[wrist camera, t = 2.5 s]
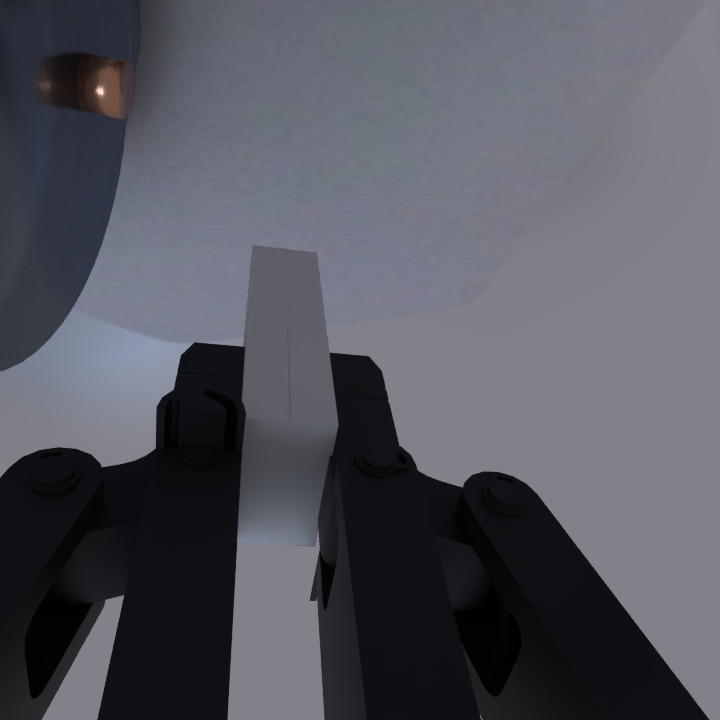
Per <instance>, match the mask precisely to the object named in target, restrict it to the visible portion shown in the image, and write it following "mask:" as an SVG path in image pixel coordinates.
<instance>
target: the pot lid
mask: <svg viewBox="0 0 720 720" xmlns="http://www.w3.org/2000/svg"><path fill="white" fill-rule="evenodd" d="M134 86H135V85H134V73H133V69H132V66H131V64H130V62H129V49H128V27H127V12H126V2H125V0H0V371H4V370H6V369H8V368H10V367H12V366H15V365H17V364H19V363H21V362H23V361H24V360H25V359H27V358H28V357H30V356H31V355H32V354H34V353H35V352H36V351H37V350H39V348H40V347H42V346H43V345H44V344H45V343H46V342H47V341H48V340H49V339H50V338H51V337H52V335H53V334H54V333H55V332H56V330H57V329H58V328H59V327H60V326H61V324H62V323H63V322H64V320H65V319H66V317H67V315H68V314H69V312H70V311H71V309H72V308H73V306H74V305H75V303H76V301H77V299H78V297H79V295H80V294H81V292H82V290H83V288H84V286H85V284H86V282H87V280H88V277H89V275H90V273H91V271H92V268H93V266H94V264H95V261H96V258H97V256H98V253H99V250H100V248H101V245H102V242H103V239H104V235H105V232H106V229H107V226H108V222H109V219H110V215H111V211H112V207H113V203H114V199H115V194H116V189H117V184H118V179H119V174H120V168H121V162H122V155H123V149H124V140H125V131H126V121H127V116H128V115H129V113H130V110H131V107H132V104H133V98H134Z"/></svg>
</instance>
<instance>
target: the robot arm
mask: <svg viewBox="0 0 720 720" xmlns="http://www.w3.org/2000/svg"><path fill="white" fill-rule="evenodd" d="M156 419H157V420H156V449H155V450H153V451H152V452H151V453H149V454H148V455H146V456H145V457H142V458H140V459H137V460H135V461H132V462H128V463H124V464H120V465H114V466H108V467H101V464H100V463H99V462H98V461H97V460H96V459H95V458H94V457H93V456H92V455H91V454H88V453H86V452H83V451H80V450H78V449H72V448H71V449H70V448H60V447H58V448H51V449H44V450H39V451H36V452H34V453H31V454H29V455H26V456H24V457H22V458H21V459H19V460H18V461H17V462H16V463H14V464H13V465H12V466H11V467H9V469H8V470H7V471H6V472H5V473H4V474H3V475H2V476H1V478H0V720H42V718H43V716H44V714H45V713H46V711H47V708H48V707H49V705H50V703H51V702H52V700H53V698H54V696H55V694H56V693H57V691H58V689H59V687H60V685H61V683H62V682H63V680H64V678H65V676H66V674H67V673H68V671H69V669H70V667H71V665H72V663H73V662H74V660H75V658H76V656H77V654H78V652H79V651H80V649H81V647H82V645H83V644H84V642H85V640H86V638H87V636H88V635H89V633H90V631H91V629H92V627H93V625H94V624H95V622H96V620H97V618H98V616H99V615H100V613H101V611H102V609H103V607H104V604H105V600H106V599H110V598H114V597H118V596H122V595H124V600H123V604H122V608H121V614H120V618H119V622H118V627H117V632H116V636H115V641H114V645H113V650H112V655H111V659H110V664H109V669H108V673H107V678H106V682H105V687H104V692H103V696H102V701H101V706H100V710H99V715H98V719H97V720H227V717H228V698H229V680H230V663H231V645H232V626H233V625H232V624H233V608H234V590H235V572H236V553H237V543H242V544H267V545H294V546H315V544H316V538H317V533H318V529H319V543H320V551H319V556H318V561H317V566H316V572H315V576H314V582H313V586H312V592H311V597H310V601H316V599H317V601H318V616H319V617H318V618H319V634H320V651H321V667H322V683H323V701H324V717H325V720H481V718H480V715H481V717H482V719H483V720H709V719H708V717H707V716H706V715H705V714H704V712H703V711H702V710H701V708H700V707H699V706H698V705H697V703H696V702H695V701H694V699H693V698H692V696H691V695H690V694H689V692H688V691H687V690H686V689H685V687H684V686H683V685H682V683H681V682H680V681H679V679H678V678H677V677H676V676H675V674H674V673H673V672H672V671H671V669H670V668H669V666H668V665H667V664H666V662H665V661H664V660H663V658H662V657H661V656H660V654H659V653H658V652H657V651H656V650H655V648H654V647H653V645H652V644H651V643H650V641H649V640H648V639H647V638H646V636H645V635H644V634H643V632H642V631H641V630H640V628H639V627H638V626H637V625H636V623H635V622H634V620H633V619H632V618H631V616H630V615H629V614H628V613H627V611H626V610H625V609H624V607H623V606H622V605H621V603H620V602H619V601H618V599H617V598H616V597H615V596H614V594H613V593H612V592H611V590H610V589H609V588H608V586H607V585H606V584H605V582H604V581H603V580H602V578H601V577H600V576H599V575H598V573H597V572H596V571H595V569H594V568H593V567H592V565H591V564H590V563H589V561H588V560H587V559H586V557H585V556H584V555H583V554H582V552H581V551H580V550H579V548H578V547H577V546H576V544H575V543H574V542H573V540H572V539H571V538H570V536H569V535H568V534H567V533H566V531H565V530H564V529H563V527H562V526H561V525H560V523H559V522H558V521H557V520H556V518H555V517H554V515H553V514H552V513H551V512H550V510H549V509H548V508H547V506H546V505H545V504H544V502H543V501H542V500H541V498H540V497H539V496H538V495H537V493H535V492H534V491H533V490H532V489H531V488H530V487H529V486H528V485H527V484H526V483H524V482H522V481H520V480H519V479H517V478H515V477H513V476H510V475H507V474H503V473H500V472H480V473H477V474H474V475H472V476H471V477H470V478H469V479H467V481H466V482H465V483H464V486H463V488H462V487H459V486H455V485H452V484H449V483H445V482H442V481H439V480H436V479H433V478H431V477H428V476H426V475H425V474H423V473H421V472H419V471H418V470H417V466H416V464H415V462H414V460H413V458H412V456H411V455H410V454H409V453H408V452H406V451H405V450H404V449H403V448H402V447H401V446H399V442H398V438H397V434H396V429H395V425H394V421H393V417H392V412H391V409H390V404H389V402H388V395H387V391H386V390H385V383H384V379H383V375H382V371H381V370H380V369H379V367H378V366H377V365H376V364H375V363H374V362H373V361H372V359H371V358H370V357H369V356H361V355H349V354H338V353H329V346H328V338H327V330H326V322H325V314H324V306H323V298H322V291H321V283H320V275H319V267H318V259H317V253H315V252H307V251H298V250H289V249H281V248H272V247H263V246H255V245H253V247H252V258H251V268H250V279H249V289H248V300H247V310H246V321H245V332H244V343H243V347H240V346H229V345H218V344H207V343H194V344H192V345H191V346H190V347H189V348H188V349H187V350H186V351H185V352H184V353H183V354H182V355H181V358H180V362H179V367H178V373H177V377H176V382H175V388H174V390H173V391H171V392H170V393H168V394H167V395H165V396H164V397H162V399H161V401H160V402H159V404H158V406H157V414H156ZM479 713H480V714H479Z"/></svg>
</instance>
